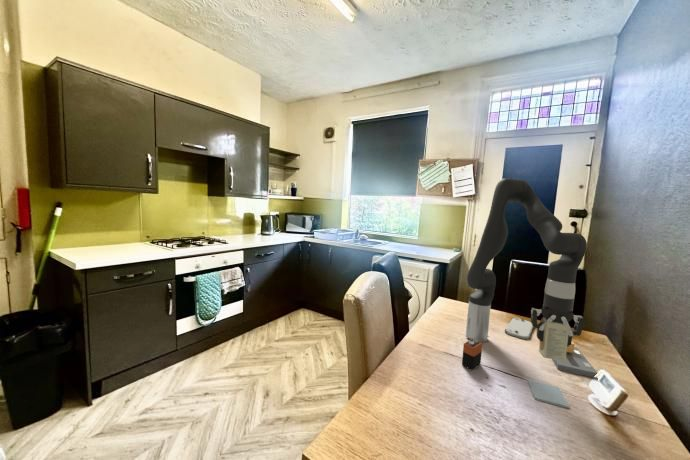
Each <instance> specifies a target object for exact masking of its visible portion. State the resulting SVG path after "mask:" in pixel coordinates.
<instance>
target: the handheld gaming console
mask: <svg viewBox="0 0 690 460" xmlns="http://www.w3.org/2000/svg"><path fill="white" fill-rule="evenodd" d="M533 329H534V327H533V325H532V324H531V321H529V320H526V319H524V318H518V317H513V318H511V321H510V322H509V323H508V325H507V327H506V328H505V329H504V333H505V334H507V335H509V336H512V337H514V338H517V339H521V340H528V339H529V338H530V337H531V333H532V331H533Z"/></svg>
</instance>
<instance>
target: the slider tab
mask: <svg viewBox="0 0 690 460" xmlns="http://www.w3.org/2000/svg"><path fill="white" fill-rule="evenodd" d="M574 347H576V346H575V343H574V342H573V341H572V342H571V345H569V347H567V352H570V353H574Z"/></svg>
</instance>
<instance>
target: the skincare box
mask: <svg viewBox="0 0 690 460" xmlns="http://www.w3.org/2000/svg"><path fill="white" fill-rule="evenodd" d="M541 319H543V320H544V322H545V321H546V319H545V318H543V317H542V318H541ZM569 326H570V324H569V325H564V324H563V323H557V322H546V325H545V329H544V330H543V331H544V334H543V341H539V347H538V352H539V354H540V355H541V356H542V358H544V359H550V360H552V359H554V360H560V361H566V352H567V343H568V334H569Z"/></svg>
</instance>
